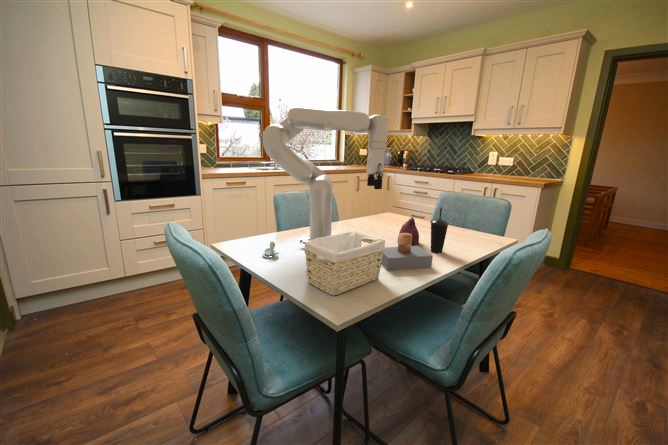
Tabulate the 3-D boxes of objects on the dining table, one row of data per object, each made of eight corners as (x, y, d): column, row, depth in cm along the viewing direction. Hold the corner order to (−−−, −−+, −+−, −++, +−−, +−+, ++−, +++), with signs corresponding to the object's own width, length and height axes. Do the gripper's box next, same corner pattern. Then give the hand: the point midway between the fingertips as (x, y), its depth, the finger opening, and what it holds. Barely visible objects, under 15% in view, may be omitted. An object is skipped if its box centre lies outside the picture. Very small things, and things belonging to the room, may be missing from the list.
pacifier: (267, 260, 122) (281, 257, 126) (266, 246, 121) (280, 242, 124) (259, 255, 128) (272, 252, 132) (258, 241, 126) (271, 238, 130)
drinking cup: (445, 250, 139) (450, 206, 135) (445, 255, 132) (450, 210, 128) (427, 247, 142) (432, 205, 137) (427, 253, 135) (431, 208, 130)
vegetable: (419, 252, 145) (428, 225, 138) (397, 249, 145) (406, 221, 138) (415, 240, 154) (424, 214, 147) (395, 237, 154) (402, 211, 147)
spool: (400, 254, 118) (402, 236, 116) (395, 249, 123) (396, 232, 121) (412, 253, 119) (414, 236, 118) (407, 249, 124) (408, 232, 122)
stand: (387, 270, 115) (388, 258, 113) (376, 259, 126) (377, 247, 125) (431, 267, 118) (432, 255, 117) (416, 257, 130) (417, 245, 129)
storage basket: (352, 265, 119) (353, 229, 116) (385, 279, 108) (387, 239, 104) (302, 282, 104) (302, 240, 100) (334, 301, 92) (335, 254, 88)
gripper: (362, 145, 135) (360, 184, 140) (375, 146, 119) (371, 190, 123) (379, 146, 137) (376, 184, 141) (393, 147, 120) (389, 190, 125)
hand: (374, 187), depth 132 cm, fingers open, 9 cm apart
